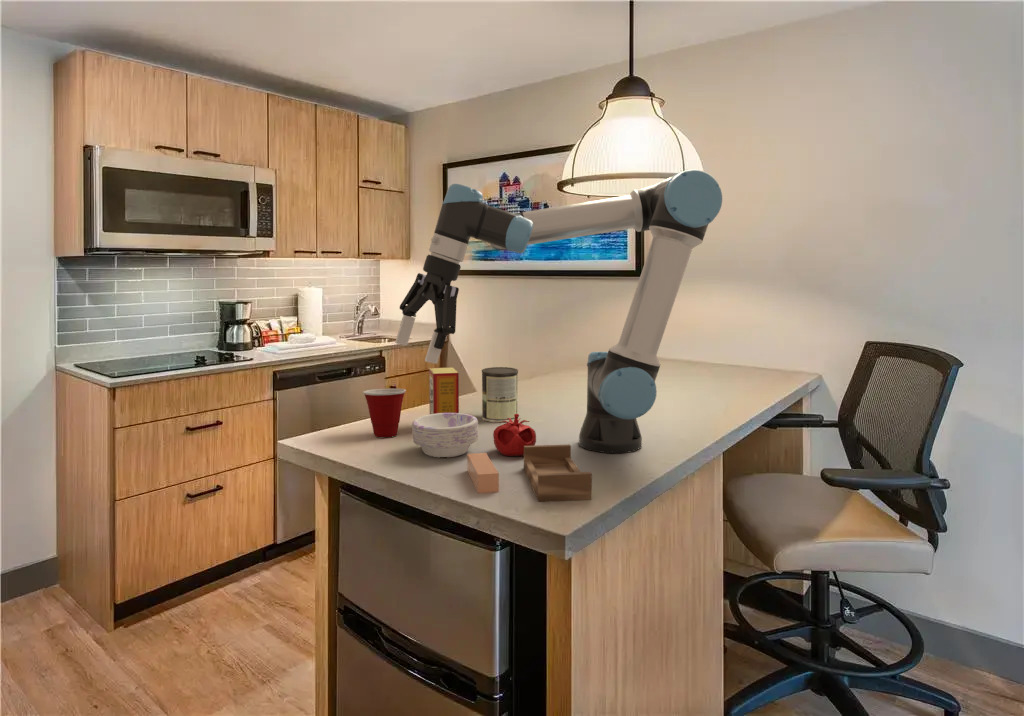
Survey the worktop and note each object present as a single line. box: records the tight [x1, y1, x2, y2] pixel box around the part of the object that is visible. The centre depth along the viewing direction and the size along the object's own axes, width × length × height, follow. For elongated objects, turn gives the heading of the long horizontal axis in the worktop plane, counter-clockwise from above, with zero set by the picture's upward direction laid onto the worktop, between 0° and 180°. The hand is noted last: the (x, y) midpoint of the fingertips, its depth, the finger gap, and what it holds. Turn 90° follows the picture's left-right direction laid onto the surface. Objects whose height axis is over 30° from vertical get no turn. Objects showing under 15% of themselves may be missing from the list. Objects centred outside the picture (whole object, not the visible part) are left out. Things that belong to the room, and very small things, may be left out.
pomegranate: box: [492, 413, 537, 457], centre depth 151 cm, size 10×10×9 cm
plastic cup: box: [362, 388, 407, 438], centre depth 165 cm, size 11×11×12 cm
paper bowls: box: [411, 412, 479, 458], centre depth 151 cm, size 15×15×8 cm
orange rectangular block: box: [466, 452, 500, 494], centre depth 131 cm, size 14×4×4 cm, turn 13°
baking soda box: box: [428, 367, 460, 415], centre depth 173 cm, size 10×6×16 cm
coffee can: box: [481, 366, 519, 424], centre depth 184 cm, size 10×10×14 cm
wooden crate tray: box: [523, 444, 593, 503], centre depth 130 cm, size 20×10×5 cm, turn 7°
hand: (415, 353), depth 140 cm, fingers open, 13 cm apart
